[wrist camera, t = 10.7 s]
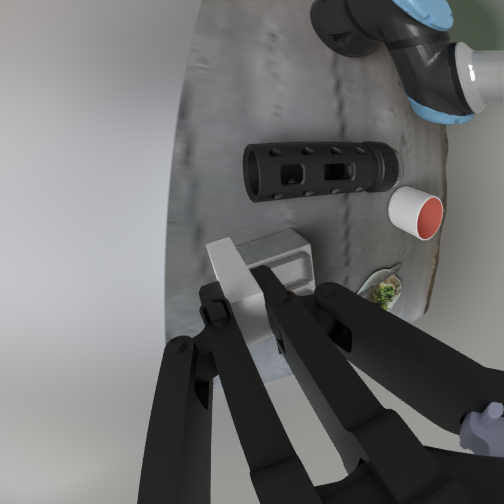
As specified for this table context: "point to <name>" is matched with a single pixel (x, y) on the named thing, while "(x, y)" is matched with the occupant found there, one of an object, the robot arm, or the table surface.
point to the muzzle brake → (319, 169)
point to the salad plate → (382, 288)
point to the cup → (415, 212)
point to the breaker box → (283, 259)
